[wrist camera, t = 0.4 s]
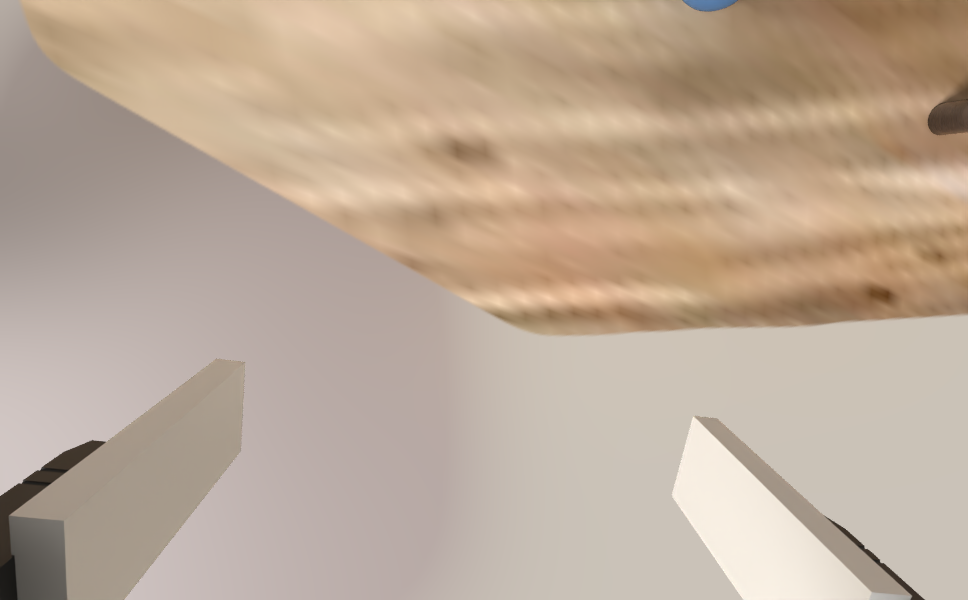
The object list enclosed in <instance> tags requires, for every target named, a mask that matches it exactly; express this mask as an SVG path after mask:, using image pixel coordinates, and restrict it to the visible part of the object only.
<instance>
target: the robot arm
mask: <svg viewBox="0 0 968 600" xmlns="http://www.w3.org/2000/svg"><path fill="white" fill-rule="evenodd" d="M244 377H245V362H240V361H231V360H222V359H216V360H214V361H213V362H212V363H210V364H209V365H208V366H206V367H205V368H204V369H202V370H201V371H200V372H198V373H197V374H196V375H194V376H193V377H192V378H191V379H189V380H188V381H187V382H185V383H184V384H183V385H181V386H180V387H179V388H177V389H176V390H175V391H173V392H172V393H171V394H169V395H168V396H167V397H165V398H164V399H163V400H161V401H160V402H159V403H157V404H156V405H155V406H153V407H152V408H151V409H150V410H148V411H147V412H145V413H144V414H143V415H141V416H140V417H139V418H138V419H136V420H135V421H134V422H132V423H131V424H130V425H128V426H127V427H126V428H124V429H123V430H122V431H120V432H119V433H118V434H116V435H115V436H114V437H112V438H111V439H110V440H108V441H107V442H103V441H93V440H92V441H89V442H87V443H85V444H82V445H80V446H77V447H75V448H72V449H70V450H68V451H65V452H63V453H62V454H60V455H59V456H58V457H56V458H54V459H53V460H52V461H50V462H49V463H47V464H46V465H44V466H43V467H42V468H41V470H40V471H36V472H34V473H33V474H31V475H30V476H29V477H27V478H26V479H24V480H23V483H22V484H17V485H16V486H14V487H13V488H11V489H10V490H8V491H7V492H6V493H4V494H3V495H1V496H0V600H124V599H125V598H126V597H127V595H128V594H129V593H130V592H131V590H132V589H133V588H134V586H135V585H136V584H137V582H138V581H139V580H140V579H141V577H142V576H143V575H144V574H145V573H146V571H147V570H148V569H149V567H150V566H151V565H152V564H153V562H154V561H155V560H156V559H157V557H158V556H159V555H160V553H161V552H162V551H163V550H164V548H165V547H166V546H167V545H168V543H169V542H170V541H171V539H172V538H173V537H174V535H175V534H176V533H177V532H178V530H179V529H180V528H181V526H182V525H183V524H184V523H185V521H186V520H187V519H188V518H189V516H190V515H191V514H192V513H193V511H194V510H195V509H196V508H197V506H198V505H199V504H200V502H201V501H202V500H203V499H204V497H205V496H206V495H207V494H208V492H209V491H210V490H211V488H212V487H213V486H214V485H215V483H216V482H217V481H218V480H219V478H220V477H221V476H222V474H223V473H224V472H225V471H226V469H227V468H228V467H229V465H230V464H231V463H232V462H233V460H234V459H235V458H236V457H237V455H238V454H239V453H240V451H241V439H242V438H241V437H242V418H243V398H244ZM672 497H673V498H674V500H675V501H676V503H677V504H678V506H679V507H680V509H681V510H682V511H683V513H684V514H685V516H686V517H687V519H688V520H689V521H690V523H691V525H692V526H693V527H694V529H695V530H696V532H697V533H698V535H699V536H700V538H701V539H702V540H703V542H704V543H705V545H706V546H707V548H708V549H709V551H710V552H711V553H712V555H713V556H714V558H715V559H716V561H717V562H718V564H719V565H720V567H721V568H722V570H723V571H724V572H725V574H726V575H727V577H728V578H729V580H730V581H731V583H732V584H733V586H734V587H735V588H736V590H737V591H738V593H739V594H740V596H741V597H742V599H743V600H924V599H923V598H922V597H921V596H920V595H919V594H917V593H916V592H915V591H914V590H913V589H912V588H911V587H910V586H909V585H907V584H906V583H905V582H904V581H903V580H902V579H901V578H899V577H898V576H897V575H896V574H895V573H894V572H893V571H892V570H891V569H890V568H889V567H887V566H886V565H885V564H884V563H880V560H879V559H878V558H877V557H876V556H875V555H874V554H873V553H872V552H871V551H869V550H868V549H865V548H864V545H863V544H861V542H859V541H858V540H857V539H856V538H855V537H854V536H853V535H852V534H850V533H849V532H848V531H847V530H846V529H845V528H843V527H841V526H840V525H838V524H837V523H835V522H833V521H832V520H830V519H829V518H827V517H826V516H824V515H823V514H821V513H820V512H819V511H818V510H817V509H816V508H815V507H814V506H813V505H812V504H810V503H809V502H808V501H807V500H806V499H805V498H804V497H803V496H802V495H801V494H799V493H798V492H797V491H796V490H795V489H794V488H793V487H792V486H791V485H790V484H788V483H787V482H786V481H785V480H784V479H783V478H782V477H781V476H780V475H779V474H777V473H776V472H775V471H774V470H773V469H772V468H771V467H770V466H769V465H768V464H766V463H765V462H764V461H763V460H762V459H761V458H760V457H759V456H758V455H757V454H755V453H754V452H753V451H752V450H751V449H750V448H749V447H748V446H747V445H746V444H744V443H743V442H742V441H741V440H740V439H739V438H738V437H737V436H735V434H733V433H732V432H731V431H730V430H729V429H728V428H727V427H726V426H725V425H724V424H722V423H721V422H720V421H719V420H718V419H716V418H707V417H699V416H693V419H692V422H691V426H690V430H689V434H688V437H687V441H686V445H685V449H684V452H683V456H682V459H681V463H680V467H679V471H678V475H677V478H676V482H675V485H674V489H673V493H672Z"/></svg>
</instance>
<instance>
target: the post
mask: <svg viewBox="0 0 968 600" xmlns="http://www.w3.org/2000/svg"><path fill="white" fill-rule="evenodd" d="M928 126H929V129H930V130H931V132H932V133H934V134H936V135H946V134H956V133H966V132H968V99H966V100H960V101H954V102H948V103H942V104H940V105H938V106H936V107H935V108H934V109H933V110H932V112H931V113H930V115H929V119H928Z"/></svg>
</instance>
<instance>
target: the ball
mask: <svg viewBox="0 0 968 600" xmlns="http://www.w3.org/2000/svg"><path fill="white" fill-rule="evenodd" d="M683 1H684V2H685V3H686V4H687V5H688V6H690V7H692V8H694V9H696V10H700V11H716V10H720V9H723V8H726V7H728V6H730V5H732V4H733V3H735V2H736V1H738V0H683Z"/></svg>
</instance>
